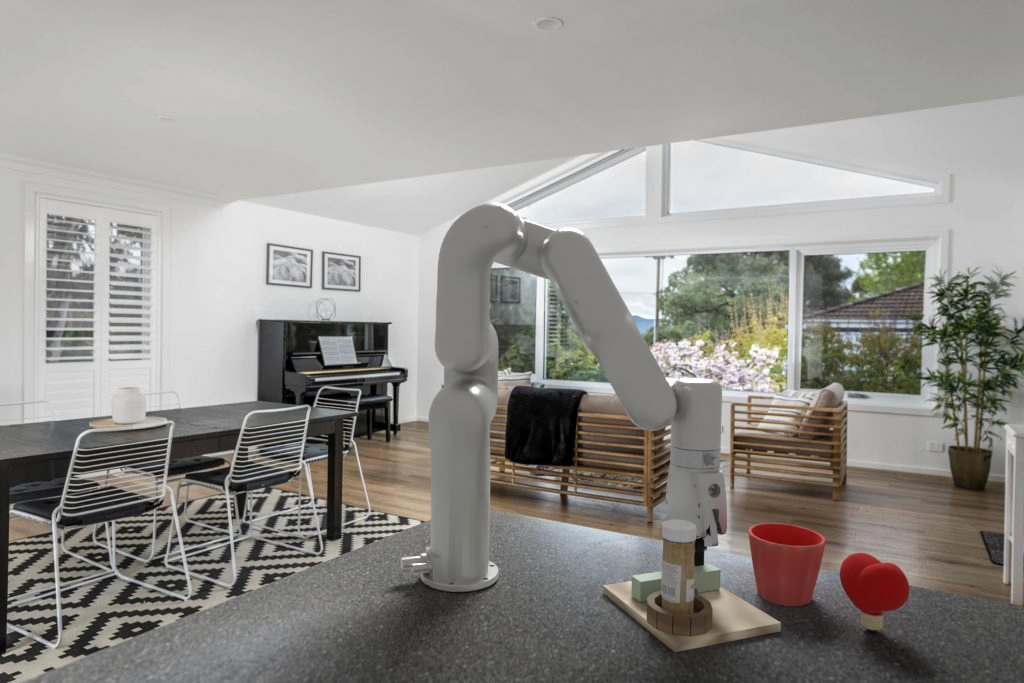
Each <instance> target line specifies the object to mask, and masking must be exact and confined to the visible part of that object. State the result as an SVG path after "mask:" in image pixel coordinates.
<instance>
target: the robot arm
mask: <svg viewBox="0 0 1024 683" xmlns="http://www.w3.org/2000/svg"><path fill="white" fill-rule="evenodd" d="M437 261H438V262H437V273H436V274H437V277H436V278H437V279H436V299H435V300H436V301H435V303H436V304H435V334H434V351H435V355H436V357H437V360H438V361H439V363H440V364H441V365H442V366H443V387H442V388H441V389H440V390H439V391H438V392H437V394H436V395H435V396H434V397H433V399H432V401H431V404H430V408H429V411H428V436H429V446H430V448H429V449H430V546H425V552H421V553H419V555H416V556H414V555H409V556H401V557H400V561H399V563H400V568H401V569H400V570H411V572H412V574H415V573H420V580H421V581H422V583H423V584H425V585H426V586H427V585H428V586H427V587H429V586H430V587H429V588H432V589H434V588H435V590H438V591H442V592H452V593H463V592H465V593H466V592H473V591H480V590H482V589H485V588H488V587H490V586H492V585H493V584H494V583H496V582H497V581H498V579H499V576H500V574H499V572H500V569H499V567H498V565H496V564H495V563H494V562H493V561H491V560H490V536H491V535H490V533H491V532H490V531H491V530H490V529H491V528H490V527H491V526H490V524H491V522H490V521H491V442H490V441H491V435H490V434H491V423H492V421H493V420H494V418H495V416H496V413H497V409H498V396H499V395H498V394H499V392H498V390H499V338H498V334H497V331H496V329H495V328H494V326H493V324H492V323H491V315H490V314H491V313H490V311H491V310H490V308H491V307H490V306H491V304H490V302H491V272H492V267H493V264H494V263H496V264H499V265H502V266H506V267H509V268H512V269H515V270H518V271H521V272H524V273H526V274H529V275H533V276H536V277H539V278H542V279H547V280H549V281H550V283H551V285H552V287H553V288H554V290H555V292H556V294H557V296H558V298H559V299H560V302H561V304H562V305H563V307H564V309H565V310H566V312H567V314H568V316H569V318H570V319H571V321H572V323H573V325H574V327H575V329H576V331H577V332H578V334H579V336H580V338H581V340H582V342H583V343H584V345H585V346H586V348H587V349H588V350H589V351H590V353H592V355H593V356H594V358H595V359H596V361H597V363H598V364H599V366H600V368H601V369H602V371H603V373H604V375H605V377H606V379H607V380H608V381H609V384H610V386H611V387H612V389H613V391H614V393H615V395H616V397H617V398H618V401H619V402H620V403H621V406H622V407H623V408H622V409H623V411H624V412H625V414H626V415H627V417H628V419H629V421H631V423H632V424H634V425H635V426H636V427H637V428H640V429H642V430H644V431H654V432H655V431H658V430H662V429H663V428H666V427H667V426H668V425H670V457H669V458H670V459H669V469H668V473H667V474H668V475H667V480H666V492H665V517H666V518H667V519H666V520H672V519H678V520H686V521H689V522H692V523H694V524H695V525H696V528H697V535H696V540H695V551H694V553H695V555H694V565H695V566H701V565H705V552H706V551H707V550H708V548H712V547H713V548H714V547H718V546H719V543H720V542H719V536H723V535H726V533H727V529H728V505H727V504H728V502H727V491H726V490H727V489H726V482H725V476H724V471H723V470H721V454H722V453H721V450H722V449H721V448H722V446H721V445H722V444H721V443H722V414H723V413H722V412H723V411H722V409H723V387H722V385H721V383H720V382H719V381H717V380H715V379H711V378H705V377H684V378H683V377H682V378H670V377H666V376H665V374H664V372H663V370H662V369H661V367H660V365H659V362H658V361H657V360H656V358H655V356H654V354H653V351H652V350H651V349H650V347H649V346H648V344H647V342H646V340H645V339H644V337H643V335H642V333H641V331H640V329H639V327H638V325H637V323H636V321H635V319H634V317H633V315H632V313H631V312H630V309H629V308H628V306H627V304H626V303H625V301H624V299H623V297H622V295H621V294H620V292H619V290H618V289H617V286H616V284H615V283H614V281H613V280H612V278H611V275H610V274H609V272H608V270H607V268H606V266H605V264H604V263H603V261H602V259H601V258H600V256H599V254H598V252H597V250H596V249H595V246H594V245H593V243H592V242H591V240H590V238H589V237H588V236H587V235H586V234H585V233H584V232H583V231H581V230H580V229H578V228H574V227H562V228H559V229H555V228H550V227H548V226H546V225H545V226H544V225H541V224H538V223H536V222H532V221H531V220H530V221H529V220H527V219H523V218H521V217H520V215H519V214H518V212H516V210H514V209H513V208H511V207H510V206H509V205H507V204H505V203H502V202H501V203H500V202H486V203H482V204H479V205H476V206H475V207H472V208H470V209H469V210H467V211H466V212H464V213H462V215H460V216H459V217H458V218H457V219H456V220H455V221H454V222H453V223H452V224H451V225H450V227H449V229H448V230H447V231H446V234H445V235H444V238H443V239H442V243H441V245H440V249H439V253H438V259H437Z"/></svg>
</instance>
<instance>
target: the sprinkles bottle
mask: <svg viewBox="0 0 1024 683" xmlns="http://www.w3.org/2000/svg"><path fill="white" fill-rule="evenodd" d="M696 535H697V528H696V525H695V524H694V523H692V522H689V521H686V520H678V519H672V520H668V519H666V520H664V521H663V522H662V524H661V537H662V557H661V571H662V588H661V595H662V609H663V610H666V611H669V612H673V613H679V614H692V613H694V574H695V565H694V555H695V553H694V551H695V540H696Z"/></svg>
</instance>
